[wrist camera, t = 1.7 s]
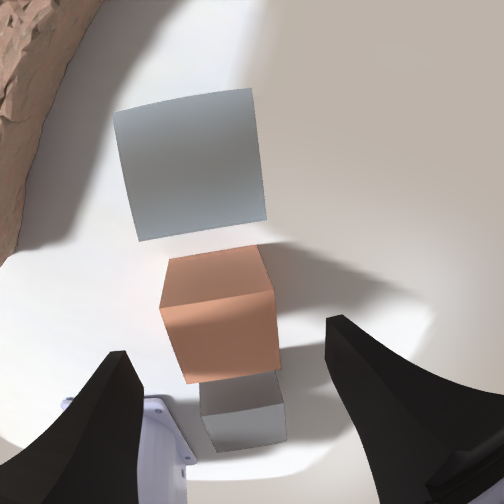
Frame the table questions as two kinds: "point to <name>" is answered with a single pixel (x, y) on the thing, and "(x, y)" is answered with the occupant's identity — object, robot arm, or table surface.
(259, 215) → the slate block
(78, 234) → the table surface
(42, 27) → the brick
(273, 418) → the gray block
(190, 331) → the terracotta block
